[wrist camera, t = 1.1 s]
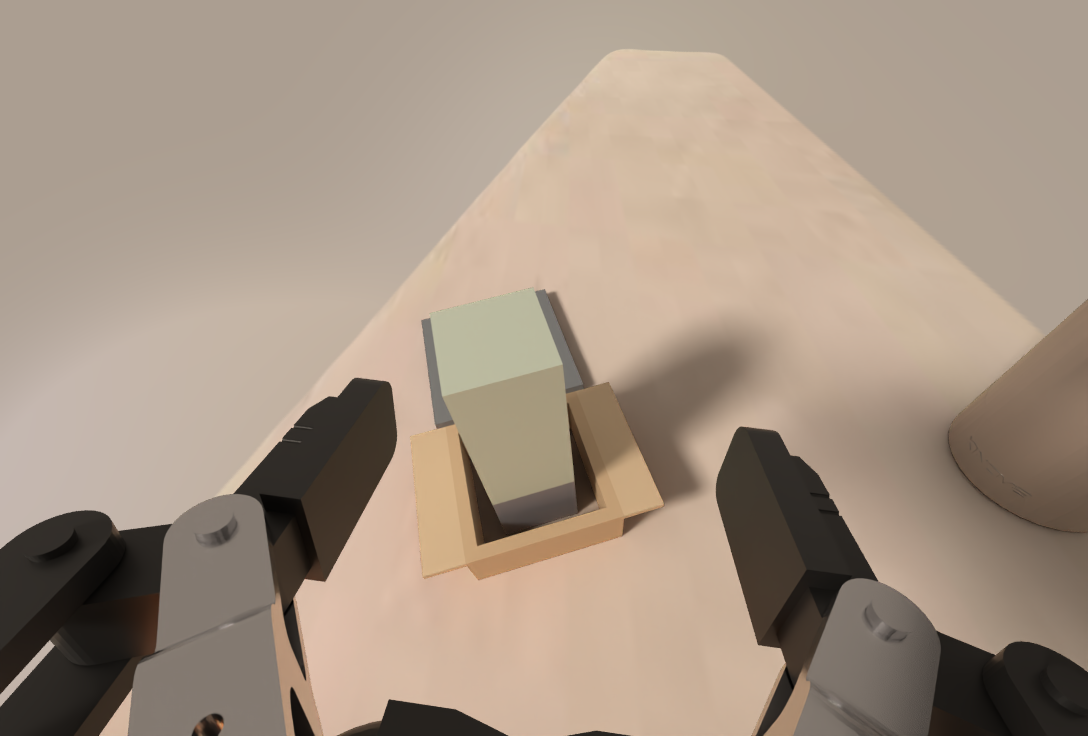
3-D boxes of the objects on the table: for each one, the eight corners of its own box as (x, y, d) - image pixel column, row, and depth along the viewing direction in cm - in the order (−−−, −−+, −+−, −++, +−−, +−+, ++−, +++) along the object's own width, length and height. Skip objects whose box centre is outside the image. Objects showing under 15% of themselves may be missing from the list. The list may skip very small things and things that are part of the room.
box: (557, 450, 34) (533, 287, 22) (577, 513, 31) (562, 364, 19) (492, 469, 34) (429, 313, 21) (506, 534, 31) (442, 396, 18)
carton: (608, 408, 36) (608, 382, 33) (658, 525, 30) (664, 504, 27) (425, 459, 35) (410, 436, 32) (439, 592, 29) (422, 577, 26)
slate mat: (545, 297, 45) (544, 289, 44) (583, 391, 37) (583, 384, 37) (424, 327, 44) (421, 320, 43) (438, 431, 36) (435, 424, 35)
